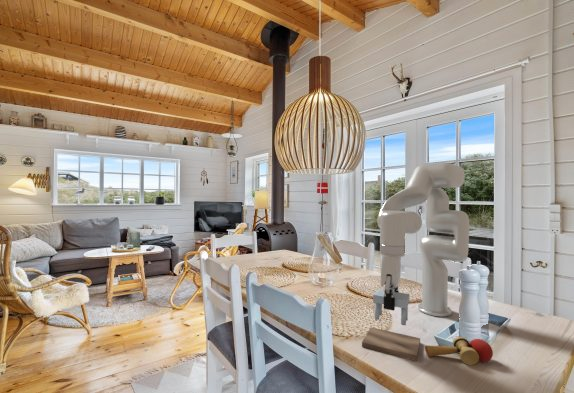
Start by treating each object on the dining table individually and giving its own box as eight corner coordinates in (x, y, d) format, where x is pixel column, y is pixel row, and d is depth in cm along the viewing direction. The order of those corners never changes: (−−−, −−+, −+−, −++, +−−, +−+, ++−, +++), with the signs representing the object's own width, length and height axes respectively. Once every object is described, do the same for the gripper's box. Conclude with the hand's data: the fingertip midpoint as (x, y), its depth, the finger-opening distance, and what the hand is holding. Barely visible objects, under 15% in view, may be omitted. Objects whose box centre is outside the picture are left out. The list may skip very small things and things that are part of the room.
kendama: (433, 369, 83) (501, 366, 81) (428, 345, 84) (495, 341, 82) (425, 359, 91) (487, 356, 88) (421, 337, 92) (482, 333, 89)
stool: (409, 318, 94) (409, 294, 94) (406, 326, 88) (406, 300, 88) (377, 312, 99) (377, 289, 99) (372, 319, 93) (373, 294, 93)
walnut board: (370, 331, 103) (370, 327, 103) (420, 342, 95) (420, 338, 95) (361, 346, 92) (361, 342, 92) (416, 360, 85) (416, 355, 85)
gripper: (385, 245, 103) (384, 295, 103) (374, 253, 88) (373, 312, 88) (407, 247, 99) (407, 299, 99) (400, 256, 84) (399, 317, 84)
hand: (391, 305), depth 93 cm, fingers closed on stool, 7 cm apart
